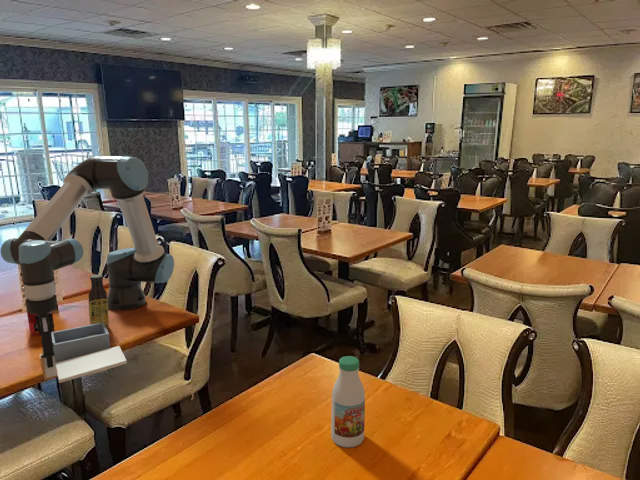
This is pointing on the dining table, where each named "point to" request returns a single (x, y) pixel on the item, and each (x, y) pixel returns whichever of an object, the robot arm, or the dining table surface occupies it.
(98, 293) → the sauce bottle
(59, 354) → the tub
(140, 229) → the robot arm
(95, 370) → the lid
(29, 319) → the canned food
